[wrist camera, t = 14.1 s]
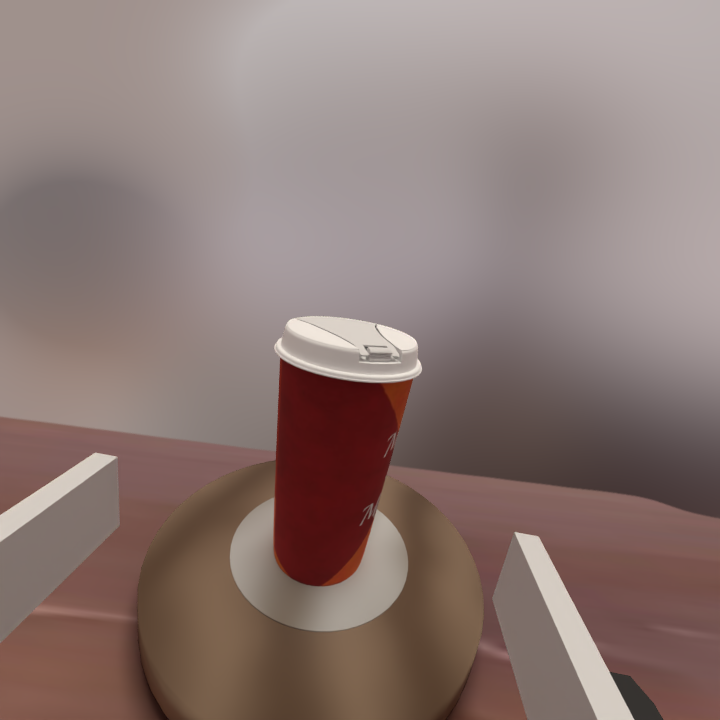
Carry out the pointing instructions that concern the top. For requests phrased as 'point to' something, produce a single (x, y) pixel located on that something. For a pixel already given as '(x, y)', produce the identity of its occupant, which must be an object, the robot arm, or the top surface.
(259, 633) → the disc
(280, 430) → the paper cup
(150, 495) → the top surface
